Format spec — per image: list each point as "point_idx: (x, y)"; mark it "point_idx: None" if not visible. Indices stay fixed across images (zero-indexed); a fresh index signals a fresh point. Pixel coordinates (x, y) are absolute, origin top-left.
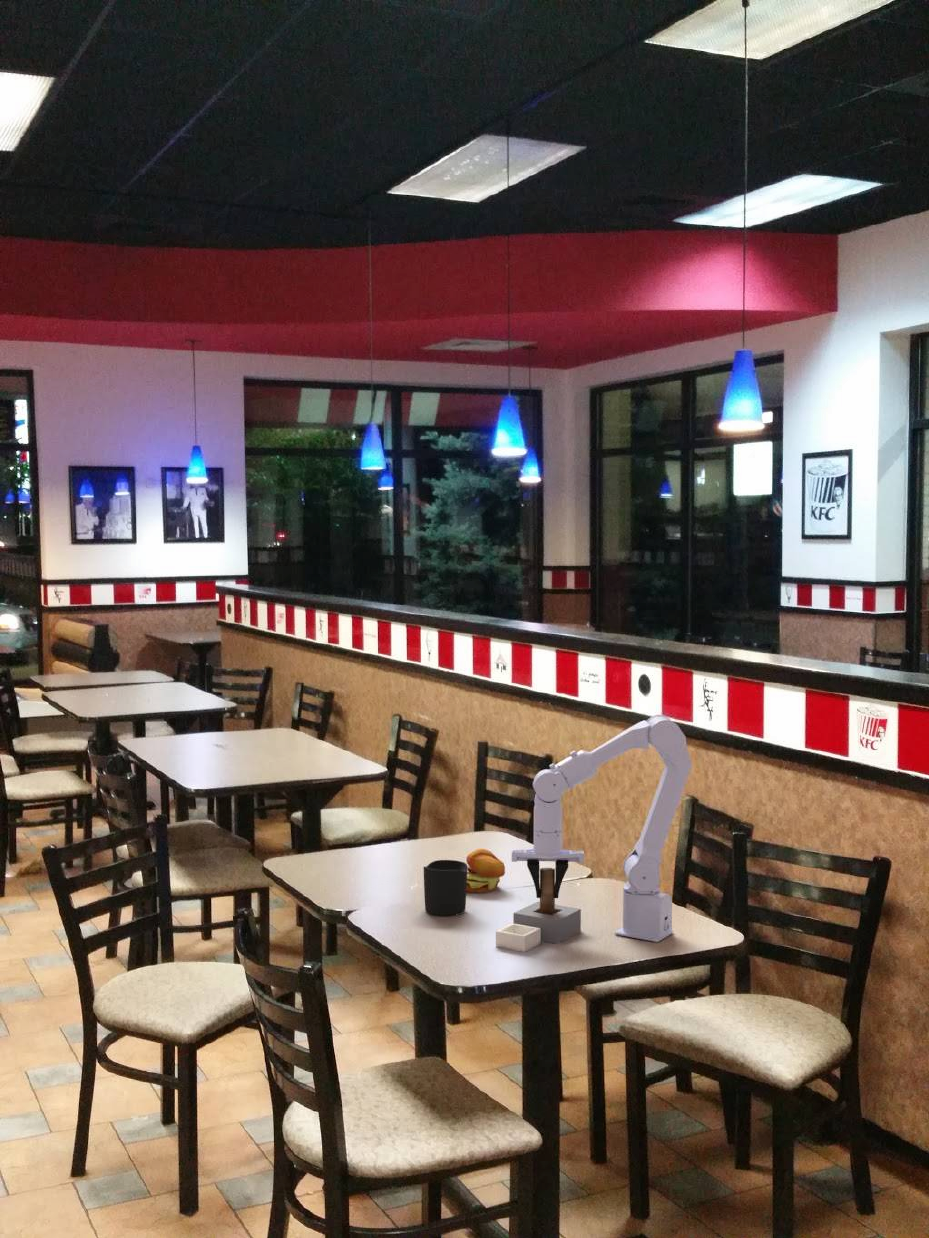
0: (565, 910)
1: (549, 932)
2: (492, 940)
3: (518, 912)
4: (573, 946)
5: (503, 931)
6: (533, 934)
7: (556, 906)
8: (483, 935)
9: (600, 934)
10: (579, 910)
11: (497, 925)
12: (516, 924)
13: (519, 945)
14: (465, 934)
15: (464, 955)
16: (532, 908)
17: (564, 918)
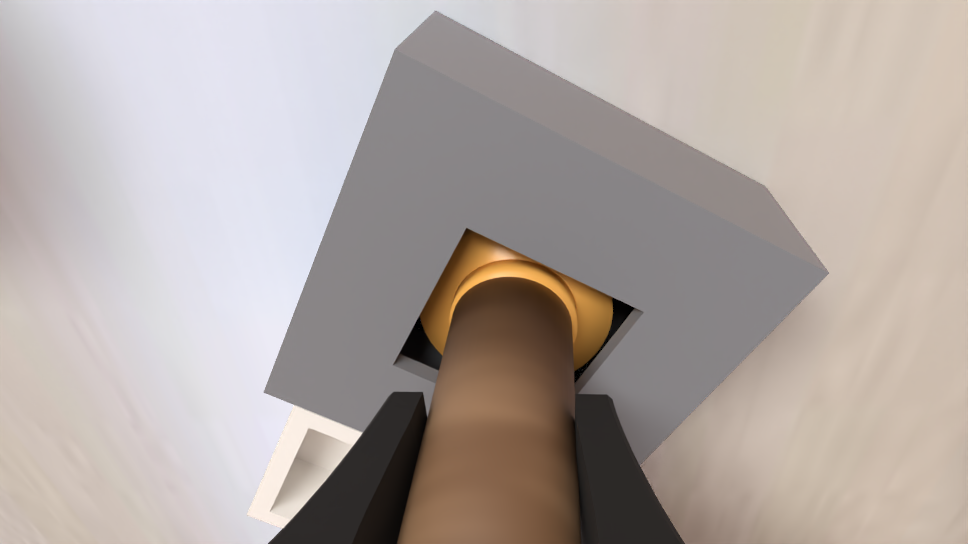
0: (669, 322)
1: None
2: (235, 378)
3: (295, 380)
4: (662, 444)
5: (286, 519)
6: None
7: (596, 208)
8: (158, 309)
9: (894, 251)
10: (806, 287)
11: (157, 107)
12: (324, 423)
13: None
14: (59, 298)
15: (192, 532)
16: (380, 284)
17: (638, 458)
